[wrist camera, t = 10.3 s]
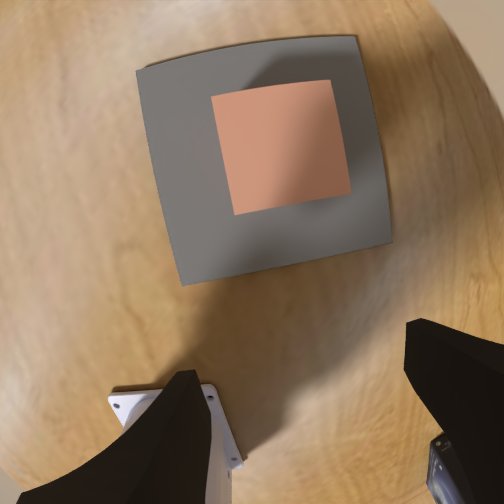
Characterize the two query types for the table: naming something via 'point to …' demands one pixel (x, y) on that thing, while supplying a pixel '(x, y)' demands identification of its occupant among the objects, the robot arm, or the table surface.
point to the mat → (213, 169)
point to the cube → (281, 145)
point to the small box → (447, 475)
